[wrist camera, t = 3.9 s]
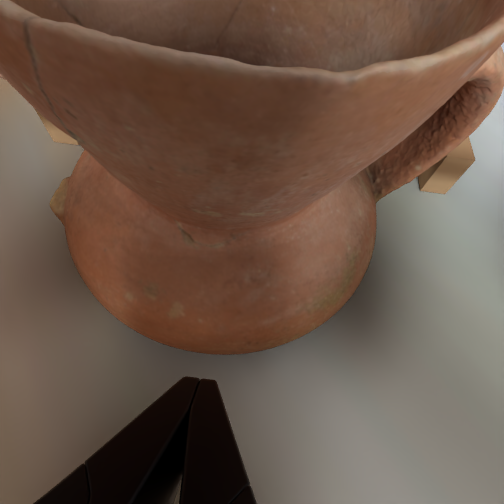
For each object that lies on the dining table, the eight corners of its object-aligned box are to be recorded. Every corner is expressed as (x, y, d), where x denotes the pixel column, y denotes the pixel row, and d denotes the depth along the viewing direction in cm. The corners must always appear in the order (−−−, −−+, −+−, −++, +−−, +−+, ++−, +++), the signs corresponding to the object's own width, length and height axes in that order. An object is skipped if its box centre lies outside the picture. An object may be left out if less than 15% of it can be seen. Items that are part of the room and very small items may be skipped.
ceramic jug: (37, 376, 15) (-923, 78, 2) (91, 138, 22) (-82, -264, 9) (421, 358, 17) (1021, 140, 4) (360, 144, 23) (521, -182, 11)
